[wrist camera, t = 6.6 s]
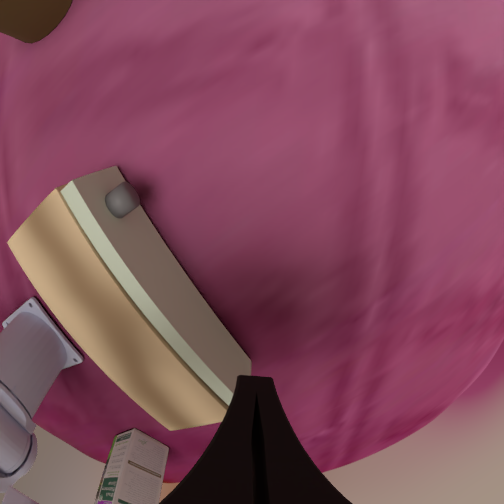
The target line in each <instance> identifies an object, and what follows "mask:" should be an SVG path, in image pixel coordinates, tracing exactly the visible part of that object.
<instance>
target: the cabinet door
mask: <svg viewBox="0 0 504 504" xmlns="http://www.w3.org/2000/svg"><path fill="white" fill-rule="evenodd" d="M60 192H61V194H62V195H63V197H64V199H65V201H66V202H67V204H68V206H69V207H70V209H71V211H72V212H73V214H74V216H75V217H76V219H77V221H78V222H79V224H80V225H81V227H82V229H83V230H84V232H85V233H86V235H87V236H88V238H89V240H90V241H91V243H92V244H93V246H94V247H95V249H96V250H97V252H98V253H99V255H100V256H101V257H102V259H103V260H104V262H105V263H106V265H107V266H108V267H109V269H110V270H111V272H112V273H113V274H114V276H115V277H116V279H117V280H118V281H119V283H120V284H121V285H122V287H123V288H124V289H125V291H126V292H127V293H128V295H129V296H130V297H131V298H132V300H133V301H134V302H135V304H136V305H137V306H138V307H139V309H140V310H141V311H142V312H143V314H144V315H145V316H146V317H147V319H148V320H149V321H150V322H151V323H152V325H153V326H154V327H155V328H156V329H157V331H158V332H159V333H160V334H161V335H162V336H163V338H164V339H165V340H166V341H167V342H168V343H169V344H170V346H171V347H172V348H173V349H174V350H175V351H176V352H177V353H178V354H179V356H180V357H181V358H182V359H183V360H184V361H185V362H186V363H187V364H188V365H189V366H190V367H191V369H192V370H193V371H194V372H195V373H196V374H197V375H198V376H199V377H200V378H201V379H202V380H203V381H204V382H205V383H206V384H207V385H208V386H209V387H210V388H211V389H212V390H213V391H214V392H215V393H216V394H217V395H218V396H219V397H220V398H221V399H222V400H223V401H224V402H225V403H226V404H227V405H230V402H231V400H232V397H233V394H234V391H235V387H236V381H237V376H239V375H249V376H251V360H250V359H249V357H248V356H247V355H246V354H245V352H244V351H243V350H242V349H241V347H240V346H239V345H238V344H237V342H236V341H235V340H234V338H233V337H232V336H231V335H230V333H229V332H228V331H227V329H226V328H225V327H224V325H223V324H222V323H221V321H220V320H219V319H218V317H217V316H216V315H215V313H214V312H213V311H212V309H211V308H210V307H209V305H208V304H207V303H206V301H205V300H204V298H203V297H202V296H201V294H200V293H199V292H198V290H197V289H196V287H195V286H194V285H193V283H192V282H191V280H190V279H189V277H188V276H187V275H186V273H185V272H184V270H183V269H182V267H181V266H180V265H179V263H178V262H177V260H176V259H175V257H174V256H173V254H172V253H171V251H170V250H169V248H168V247H167V246H166V244H165V243H164V241H163V240H162V238H161V236H160V235H159V233H158V232H157V230H156V229H155V227H154V226H153V224H152V223H151V221H150V220H149V218H148V217H147V215H146V213H145V212H144V210H143V209H142V207H141V205H140V199H139V196H138V193H137V192H136V190H135V189H134V187H133V186H132V185H131V184H129V183H128V182H126V181H125V179H124V178H123V176H122V174H121V173H120V171H119V169H118V168H117V166H113V167H110V168H107V169H103V170H100V171H97V172H94V173H91V174H88V175H85V176H82V177H79V178H77V179H74V180H72V181H71V182H69V183H68V184H67V185H66V186H65V187H64V188H63V189H62V190H61V191H60Z"/></svg>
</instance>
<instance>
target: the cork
mask: <svg viewBox="0 0 504 504" xmlns="http://www.w3.org/2000/svg"><path fill="white" fill-rule="evenodd" d="M71 2H72V0H0V32H1V33H4V34H6V35H9V36H11V37H14V38H16V39H19V40H21V41H23V42H26V43H34V42H36V41H39V40H41V39H42V38H44V37H45V36H47V35H48V34H49V33H50V32H51V31H52V30H53V29H54V28H55V27H56V26H57V25H58V24H59V23H60V21H61V20H62V19H63V17H64V16H65V14H66V13H67V11H68V9H69V7H70V5H71Z"/></svg>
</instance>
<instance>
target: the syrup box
mask: <svg viewBox="0 0 504 504" xmlns="http://www.w3.org/2000/svg"><path fill="white" fill-rule="evenodd" d="M168 452H169V448H168V447H167V446H166V445H164V444H162V443H161V442H159V441H157V440H155V439H153V438H152V437H150V436H148V435H146V434H144V433H143V432H141V431H139V430H137V429H136V428H134V429H132V430H130V431H127V432H124V433H122V434H119V435H117V436H115V438H114V441H113V444H112V447H111V450H110V453H109V456H108V459H107V462H106V466H105V469H104V472H103V475H102V478H101V482H100V485H99V489H98V492H97V495H96V499H95V503H94V504H159V499H160V494H161V488H162V482H163V477H164V472H165V467H166V461H167V457H168Z"/></svg>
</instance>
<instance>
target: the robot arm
mask: <svg viewBox="0 0 504 504" xmlns="http://www.w3.org/2000/svg"><path fill="white" fill-rule="evenodd" d="M2 325H3V327H4V328H5V329H4V330H3V331H2V332H1V333H0V493H6V494H5V496H4V498H3V501H2V504H39V503H37V502H35V501H34V500H32V499H30V498H29V497H27V496H26V495H24V494H22V493H21V492H19V491H18V490H16V489H15V488H13V487H12V486H13V485H14V483H15V482H16V481H17V480H18V479H19V478H20V477H22V476H24V475H25V474H26V473H27V472H28V471H29V470H30V469H31V467H32V466H33V464H34V462H35V459H36V456H37V439H36V436H35V434H34V433H33V431H34V429H35V427H36V424H35V423H34V422H33V421H32V418H33V416H34V414H35V413H36V411H37V409H38V407H39V406H40V404H41V402H42V400H43V399H44V397H45V395H46V394H47V392H48V390H49V389H50V387H51V386H52V384H53V382H54V381H55V379H56V378H57V376H58V374H59V373H60V371H61V370H62V369H65V368H68V367H70V366H73V365H76V364H79V363H82V362H83V360H84V359H83V357H82V355H81V354H80V353H79V352H78V351H77V350H76V349H75V347H74V346H73V345H72V344H71V343H70V342H69V340H68V339H67V338H66V337H65V336H64V335H63V333H62V332H61V331H60V330H59V328H58V327H57V326H56V325H55V323H54V322H53V321H52V319H51V318H50V317H49V316H48V314H47V313H46V312H45V310H44V309H43V308H42V306H41V305H40V303H39V302H38V301H37V299H36V298H34V297H31V298H30V299H29V300H28V301H27V302H25V303H24V304H23V305H22V306H21V307H20V308H18V309H17V310H16V311H15V312H14V313H13V314H12V315H10V316H9V317H8V318H7V319H6V320H5V321H4V322H3V323H2ZM159 504H352V503H351V502H350V501H349V500H347V499H346V498H345V497H344V496H343V495H342V494H341V493H340V492H339V491H338V490H337V489H336V488H335V487H334V486H333V485H332V484H331V483H330V482H329V481H328V479H327V478H326V477H325V476H324V475H323V474H322V473H321V471H320V470H319V469H318V468H317V466H316V465H315V464H314V462H313V461H312V460H311V458H310V457H309V455H308V454H307V453H306V451H305V450H304V448H303V446H302V445H301V443H300V441H299V440H298V438H297V436H296V434H295V433H294V431H293V429H292V427H291V425H290V423H289V421H288V419H287V417H286V414H285V412H284V410H283V408H282V405H281V403H280V400H279V397H278V395H277V392H276V389H275V385H274V382H273V379H272V378H271V377H260V376H249V375H239V376H237V381H236V387H235V391H234V394H233V397H232V400H231V402H230V405H229V407H228V410H227V412H226V414H225V416H224V419H223V421H222V422H221V424H220V426H219V428H218V430H217V432H216V434H215V436H214V437H213V439H212V441H211V442H210V444H209V445H208V447H207V448H206V450H205V452H204V453H203V454H202V456H201V457H200V459H199V460H198V461H197V463H196V464H195V465H194V467H193V468H192V469H191V470H190V472H189V473H188V474H187V475H186V476H185V477H184V479H183V480H182V481H181V482H180V483H179V484H178V485H177V486H176V488H175V489H174V490H173V491H172V492H171V493H170V494H169V495H167V496H166V497H165V498H164V499H163V500H162V501H161V502H160V503H159Z"/></svg>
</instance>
